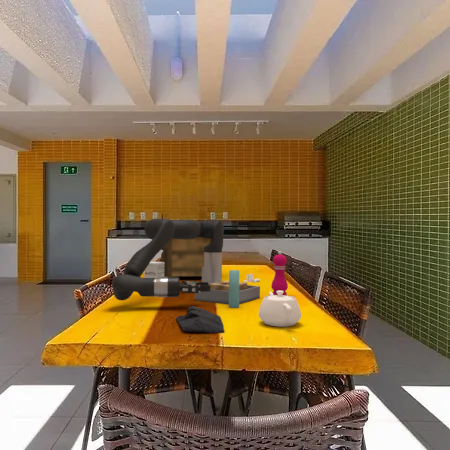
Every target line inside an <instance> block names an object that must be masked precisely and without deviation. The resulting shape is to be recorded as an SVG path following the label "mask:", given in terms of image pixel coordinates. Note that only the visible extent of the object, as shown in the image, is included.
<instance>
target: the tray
mask: <svg viewBox="0 0 450 450" xmlns="http://www.w3.org/2000/svg"><path fill="white" fill-rule="evenodd" d="M260 298H261V286H259V285H249V284H247V289H245V290H241V291H239V305H242V304H244V303H248V302H251V301H255V300H258V299H260ZM194 301H198V302H199V301H200V302H207V303H215V304H216V303H217V304H222V305H229V291H221V290H212V289H210V291H207V292H199V293H194Z"/></svg>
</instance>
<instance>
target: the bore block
mask: <svg viewBox="0 0 450 450" xmlns="http://www.w3.org/2000/svg"><path fill="white" fill-rule="evenodd" d="M208 285H210V289H212V290H221V291H229V280H223V281H221V282H216V283H211V284H208ZM247 285H248V282H240V281H239V291H241V290H245V289H247Z"/></svg>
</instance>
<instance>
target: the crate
mask: <svg viewBox="0 0 450 450" xmlns="http://www.w3.org/2000/svg"><path fill="white" fill-rule="evenodd" d="M195 221H196V222H200V221H201V220H195ZM220 221H221V220H220ZM221 222H222V223H223V224H224V221H221ZM212 240H213V239H212V238H203V237H196V238H194V239H174V238H171V239H170V240H169V241H168V243H167V244H166V245H165V246H164V247H163V248H162V249H161V250H160V251H161V255H160V256H161V257H160V258H159V262H165V264H164V277H202V267H204V247H205V246H207V245H209V244H211V243H212Z"/></svg>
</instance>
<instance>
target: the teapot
mask: <svg viewBox="0 0 450 450" xmlns="http://www.w3.org/2000/svg"><path fill="white" fill-rule="evenodd" d="M272 292H273V291H269V292H268V293H269V294H268V295H266V296H264V297H263V300H262V302H261V304H260V306H259V309H258V317H259V319H260V320H261V321H262V322H263V323H264V324H266V325H267V326H272V327H278V328H279V327H291V326H292V327H293V326H295V325H296V324H297V323H298V322H300V320H301V318H302V312H301V311H302V310H301V308H300V305H299V303H298V301H297V298H296V297H295V296H291V295H287V296H286V295H282V294H283V293H284V291H276V292H277V294H278V295H273V293H272Z"/></svg>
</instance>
